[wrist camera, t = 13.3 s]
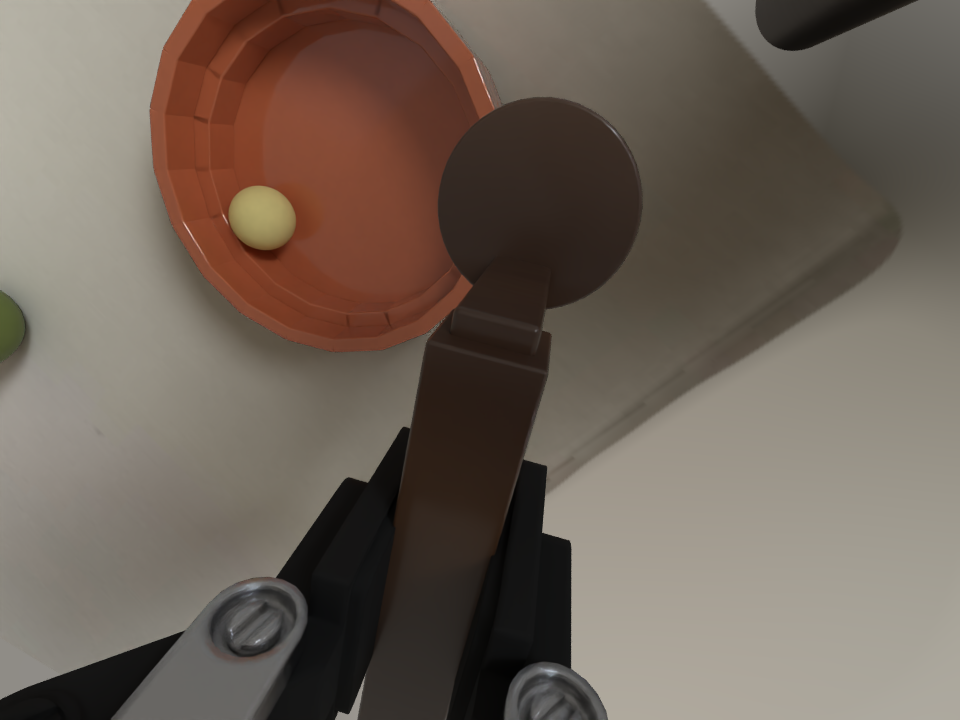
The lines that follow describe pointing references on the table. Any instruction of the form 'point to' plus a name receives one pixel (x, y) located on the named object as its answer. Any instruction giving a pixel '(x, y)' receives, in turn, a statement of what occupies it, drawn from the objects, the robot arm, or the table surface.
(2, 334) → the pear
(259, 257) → the bowl
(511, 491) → the ladle
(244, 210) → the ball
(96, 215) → the table surface
